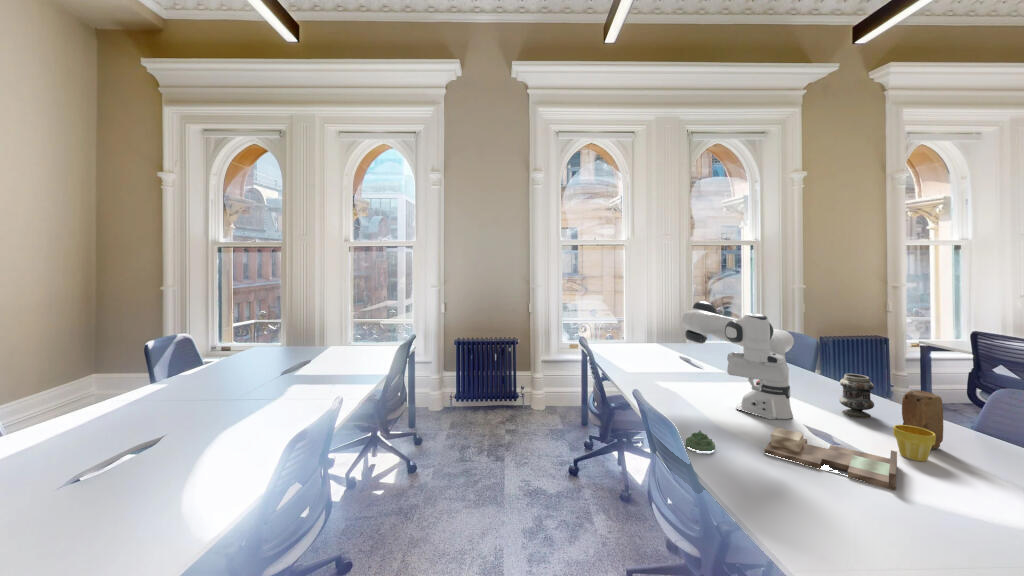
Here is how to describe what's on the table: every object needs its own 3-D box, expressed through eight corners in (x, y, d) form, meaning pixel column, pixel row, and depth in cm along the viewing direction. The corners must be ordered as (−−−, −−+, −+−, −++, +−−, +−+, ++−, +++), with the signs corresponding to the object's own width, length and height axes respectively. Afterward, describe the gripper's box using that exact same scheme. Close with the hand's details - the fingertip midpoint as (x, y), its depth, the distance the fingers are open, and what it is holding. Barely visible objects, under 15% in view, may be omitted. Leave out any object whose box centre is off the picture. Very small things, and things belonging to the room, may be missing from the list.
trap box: (764, 454, 140) (764, 441, 140) (777, 437, 155) (777, 424, 154) (895, 490, 116) (895, 474, 116) (896, 466, 130) (897, 451, 130)
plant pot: (922, 452, 139) (922, 426, 139) (943, 466, 130) (943, 437, 129) (886, 448, 143) (886, 422, 142) (904, 461, 133) (904, 434, 133)
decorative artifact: (710, 457, 140) (718, 447, 147) (710, 438, 139) (718, 429, 147) (681, 449, 146) (690, 440, 154) (681, 431, 146) (690, 423, 153)
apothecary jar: (870, 412, 179) (870, 374, 178) (877, 421, 169) (877, 380, 168) (836, 408, 185) (837, 371, 185) (841, 416, 175) (841, 377, 174)
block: (945, 451, 140) (946, 397, 139) (922, 450, 141) (923, 396, 140) (919, 438, 151) (919, 388, 150) (897, 437, 152) (898, 387, 151)
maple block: (771, 444, 144) (771, 433, 144) (776, 437, 150) (776, 427, 150) (798, 451, 138) (798, 440, 138) (803, 443, 144) (803, 433, 144)
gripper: (724, 352, 155) (724, 386, 156) (785, 360, 140) (785, 397, 141) (729, 350, 160) (729, 383, 160) (789, 357, 145) (789, 393, 145)
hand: (756, 390), depth 150 cm, fingers closed
